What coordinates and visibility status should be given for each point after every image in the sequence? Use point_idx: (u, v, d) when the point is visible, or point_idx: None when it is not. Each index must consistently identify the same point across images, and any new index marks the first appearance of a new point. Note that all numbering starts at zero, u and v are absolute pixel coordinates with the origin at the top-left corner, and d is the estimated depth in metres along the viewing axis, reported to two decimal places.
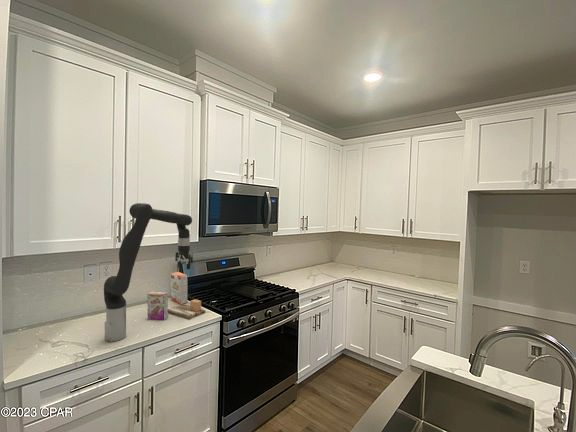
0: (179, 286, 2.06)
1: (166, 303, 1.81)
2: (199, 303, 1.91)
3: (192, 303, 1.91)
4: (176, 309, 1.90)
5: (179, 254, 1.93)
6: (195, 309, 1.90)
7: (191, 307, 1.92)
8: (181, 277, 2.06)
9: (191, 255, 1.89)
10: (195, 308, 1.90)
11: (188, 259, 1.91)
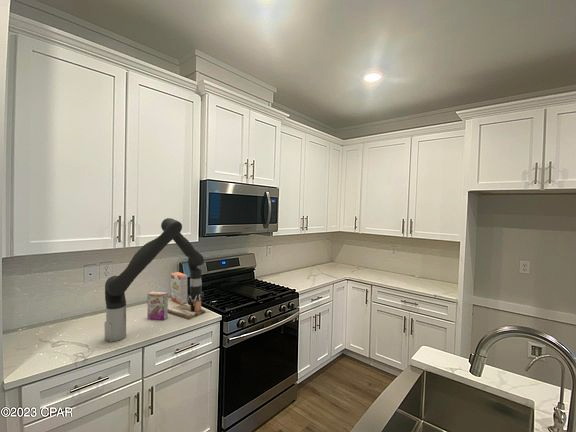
0: (179, 286, 2.06)
1: (166, 303, 1.81)
2: (199, 303, 1.91)
3: None
4: (176, 309, 1.90)
5: (193, 296, 1.89)
6: (195, 309, 1.90)
7: None
8: (181, 277, 2.06)
9: None
10: (195, 308, 1.90)
11: None
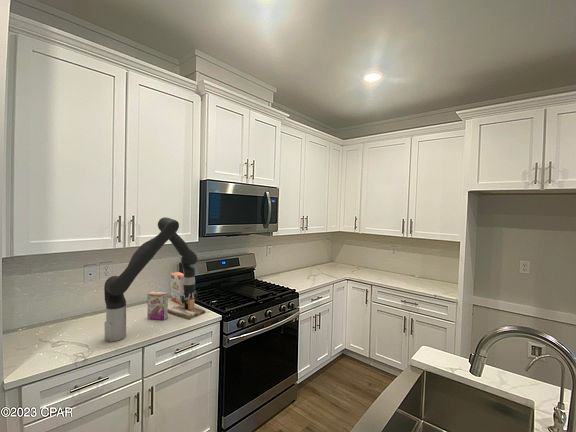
0: (179, 286, 2.06)
1: (166, 303, 1.81)
2: (192, 301, 1.95)
3: None
4: (176, 309, 1.90)
5: (186, 294, 1.92)
6: (188, 307, 1.93)
7: None
8: (181, 277, 2.06)
9: None
10: (188, 306, 1.93)
11: None
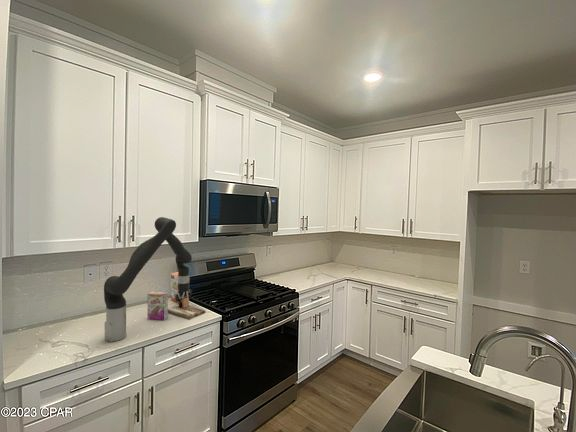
0: None
1: (166, 303, 1.81)
2: (187, 300, 1.97)
3: (180, 299, 1.97)
4: (176, 309, 1.90)
5: (181, 293, 1.95)
6: (183, 305, 1.96)
7: None
8: None
9: None
10: (183, 305, 1.96)
11: None
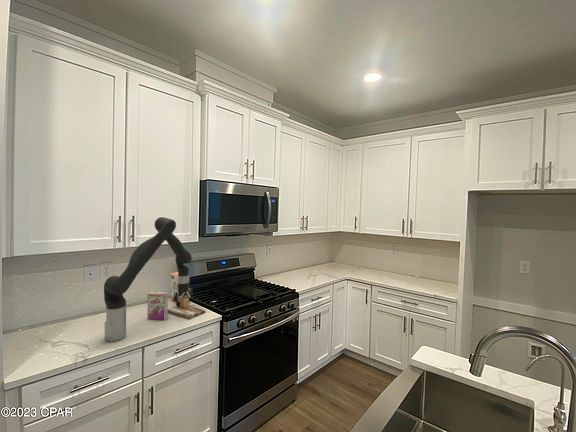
0: None
1: (166, 303, 1.81)
2: (187, 300, 1.97)
3: (180, 299, 1.97)
4: (176, 309, 1.90)
5: (180, 293, 1.95)
6: (183, 305, 1.96)
7: None
8: None
9: None
10: (183, 305, 1.96)
11: None
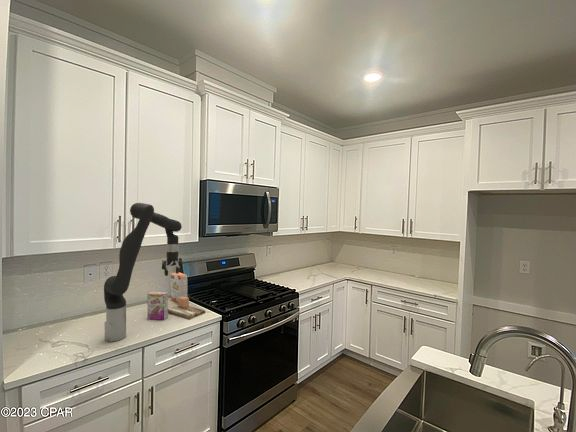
0: (179, 286, 2.06)
1: (166, 303, 1.81)
2: (187, 300, 1.97)
3: (180, 299, 1.97)
4: (176, 309, 1.90)
5: (169, 261, 1.90)
6: (183, 305, 1.96)
7: (179, 304, 1.98)
8: (181, 277, 2.06)
9: None
10: (183, 305, 1.96)
11: None
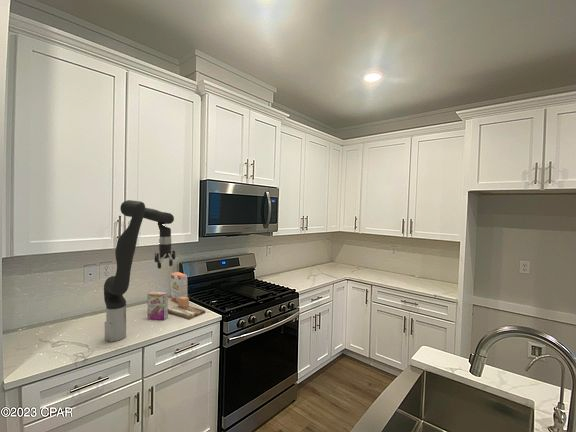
0: (179, 286, 2.06)
1: (166, 303, 1.81)
2: (187, 300, 1.97)
3: (180, 299, 1.97)
4: (176, 309, 1.90)
5: (162, 254, 1.88)
6: (183, 305, 1.96)
7: (179, 304, 1.98)
8: (181, 277, 2.06)
9: None
10: (183, 305, 1.96)
11: None
